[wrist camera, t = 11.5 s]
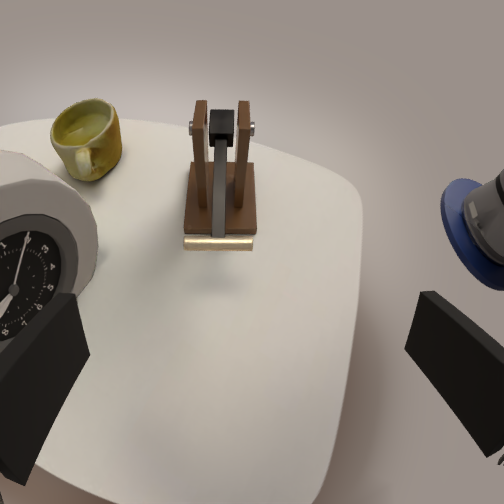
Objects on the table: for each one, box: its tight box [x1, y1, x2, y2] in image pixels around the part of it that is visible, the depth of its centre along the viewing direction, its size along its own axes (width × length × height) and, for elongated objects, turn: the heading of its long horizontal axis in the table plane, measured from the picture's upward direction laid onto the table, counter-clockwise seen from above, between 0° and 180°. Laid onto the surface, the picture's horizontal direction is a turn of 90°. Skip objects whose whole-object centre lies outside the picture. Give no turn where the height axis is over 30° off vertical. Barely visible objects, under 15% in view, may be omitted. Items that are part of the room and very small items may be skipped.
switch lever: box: [184, 110, 253, 251], centre depth 26 cm, size 13×6×2 cm, turn 3°
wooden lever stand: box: [184, 100, 257, 234], centre depth 31 cm, size 10×8×13 cm
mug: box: [50, 98, 122, 181], centre depth 34 cm, size 12×10×10 cm
